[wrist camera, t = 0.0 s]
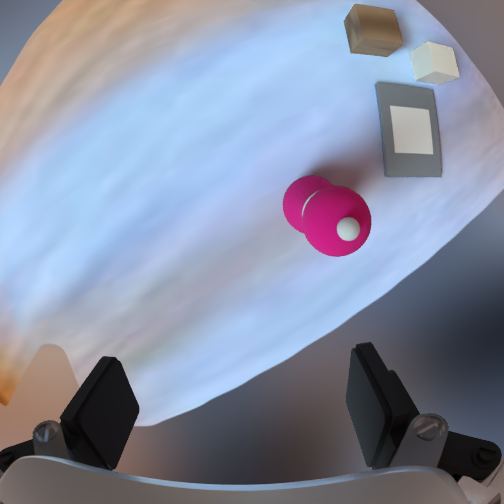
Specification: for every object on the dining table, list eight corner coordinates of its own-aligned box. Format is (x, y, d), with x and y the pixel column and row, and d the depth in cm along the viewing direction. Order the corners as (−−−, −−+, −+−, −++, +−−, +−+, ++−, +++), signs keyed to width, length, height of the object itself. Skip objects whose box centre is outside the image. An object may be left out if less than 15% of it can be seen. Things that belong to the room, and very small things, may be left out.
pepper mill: (339, 214, 40) (406, 253, 21) (293, 235, 41) (325, 294, 22) (318, 166, 38) (376, 165, 19) (271, 188, 39) (286, 206, 20)
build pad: (374, 84, 34) (377, 82, 33) (429, 91, 34) (432, 89, 33) (384, 176, 38) (387, 176, 37) (438, 176, 38) (441, 177, 37)
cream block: (409, 52, 32) (427, 41, 27) (433, 58, 32) (452, 48, 26) (414, 80, 34) (434, 71, 28) (439, 85, 34) (459, 77, 28)
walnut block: (343, 21, 32) (354, 3, 26) (378, 25, 31) (393, 10, 26) (350, 53, 33) (363, 38, 27) (386, 57, 33) (403, 44, 27)
